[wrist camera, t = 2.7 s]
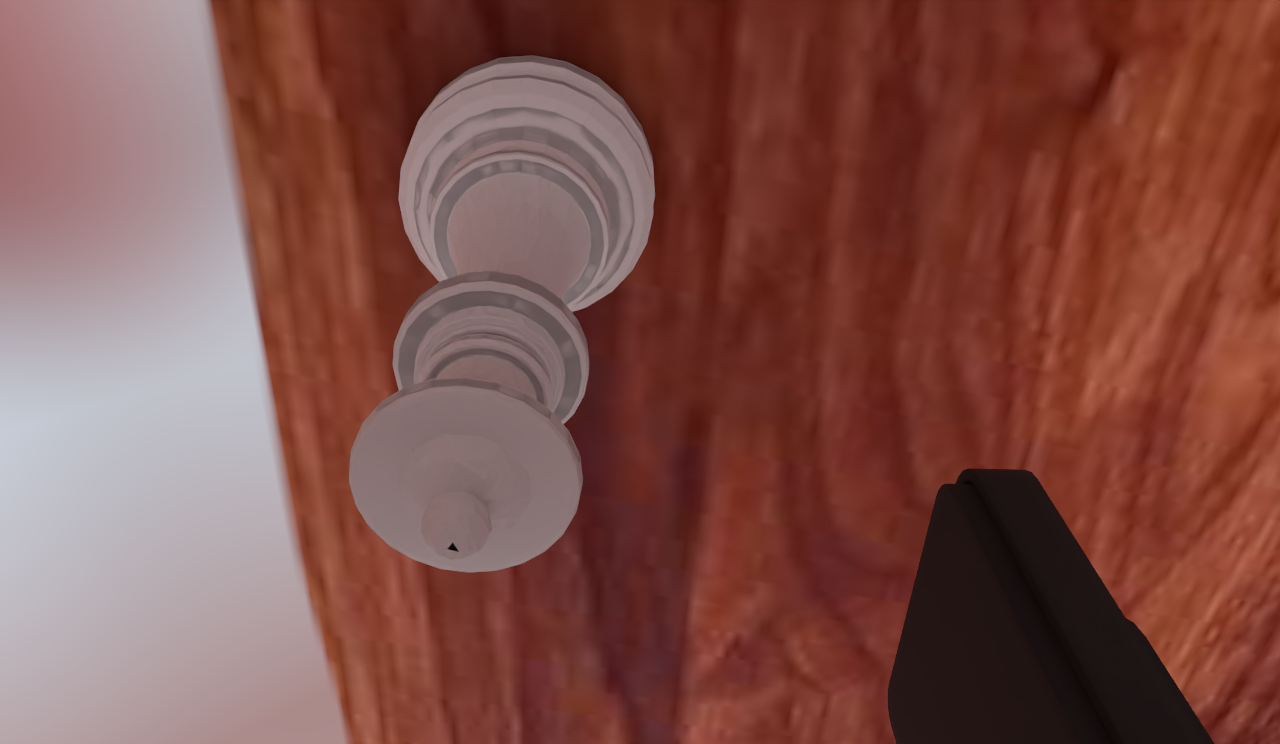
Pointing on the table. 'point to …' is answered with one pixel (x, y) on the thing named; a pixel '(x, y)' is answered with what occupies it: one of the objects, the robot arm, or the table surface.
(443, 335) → the chess piece
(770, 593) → the table surface
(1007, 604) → the robot arm
